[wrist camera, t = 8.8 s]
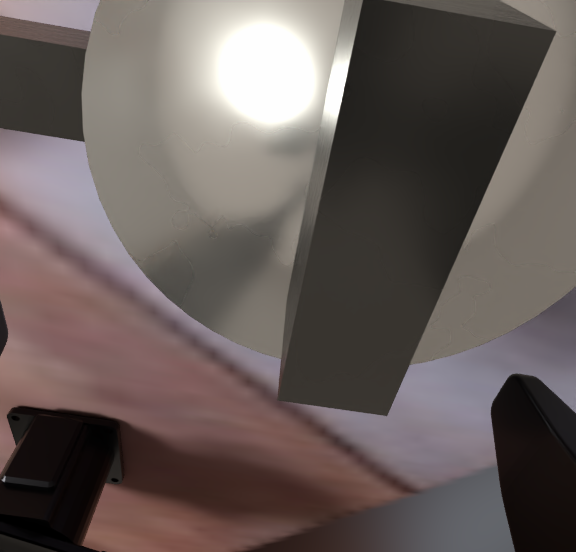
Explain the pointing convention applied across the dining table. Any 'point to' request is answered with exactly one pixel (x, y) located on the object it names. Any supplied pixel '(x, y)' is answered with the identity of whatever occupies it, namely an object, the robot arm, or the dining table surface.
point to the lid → (340, 174)
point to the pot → (42, 78)
